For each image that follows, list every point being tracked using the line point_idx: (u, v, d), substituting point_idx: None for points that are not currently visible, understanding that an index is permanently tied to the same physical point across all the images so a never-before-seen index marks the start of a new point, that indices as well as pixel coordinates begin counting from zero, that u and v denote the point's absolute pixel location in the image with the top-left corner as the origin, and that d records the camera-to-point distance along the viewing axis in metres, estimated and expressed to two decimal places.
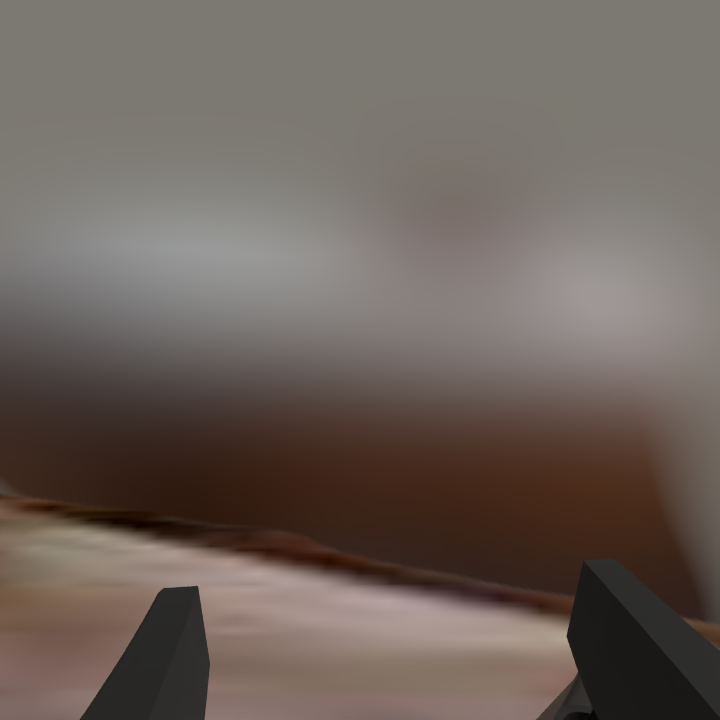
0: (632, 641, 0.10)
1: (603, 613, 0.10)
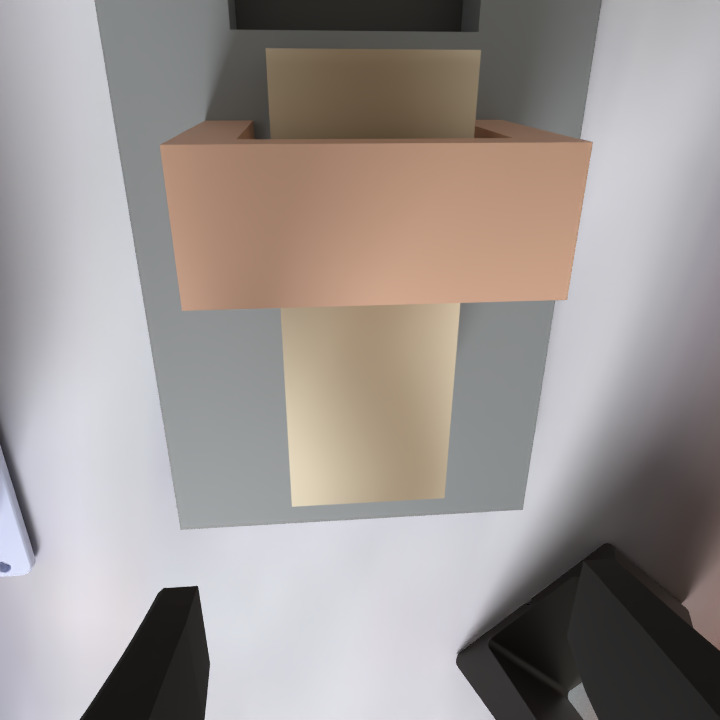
0: (632, 641, 0.10)
1: (603, 613, 0.10)
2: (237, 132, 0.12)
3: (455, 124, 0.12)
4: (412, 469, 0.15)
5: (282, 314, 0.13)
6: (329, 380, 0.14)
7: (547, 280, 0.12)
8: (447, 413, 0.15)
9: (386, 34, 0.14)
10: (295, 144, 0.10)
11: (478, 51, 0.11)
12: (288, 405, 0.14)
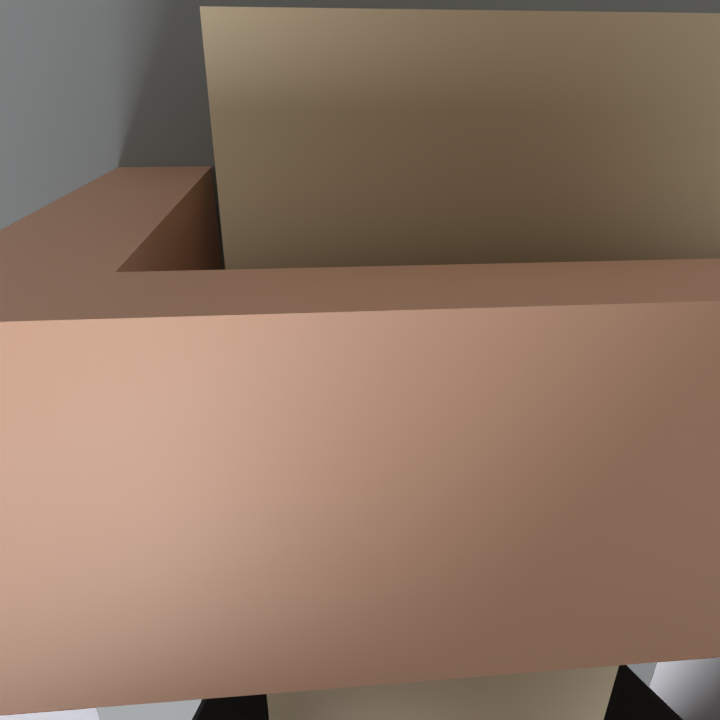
0: None
1: None
2: (149, 221, 0.05)
3: (700, 210, 0.05)
4: None
5: None
6: (360, 709, 0.07)
7: None
8: None
9: None
10: (286, 313, 0.03)
11: None
12: None
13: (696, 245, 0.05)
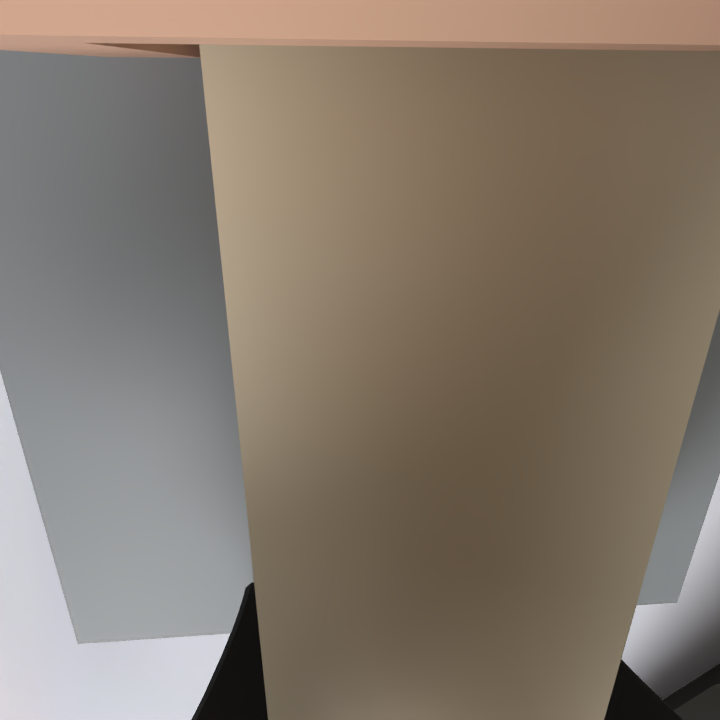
0: None
1: None
2: None
3: (712, 151, 0.04)
4: None
5: (256, 578, 0.06)
6: (360, 684, 0.07)
7: None
8: None
9: None
10: None
11: None
12: None
13: (708, 188, 0.04)
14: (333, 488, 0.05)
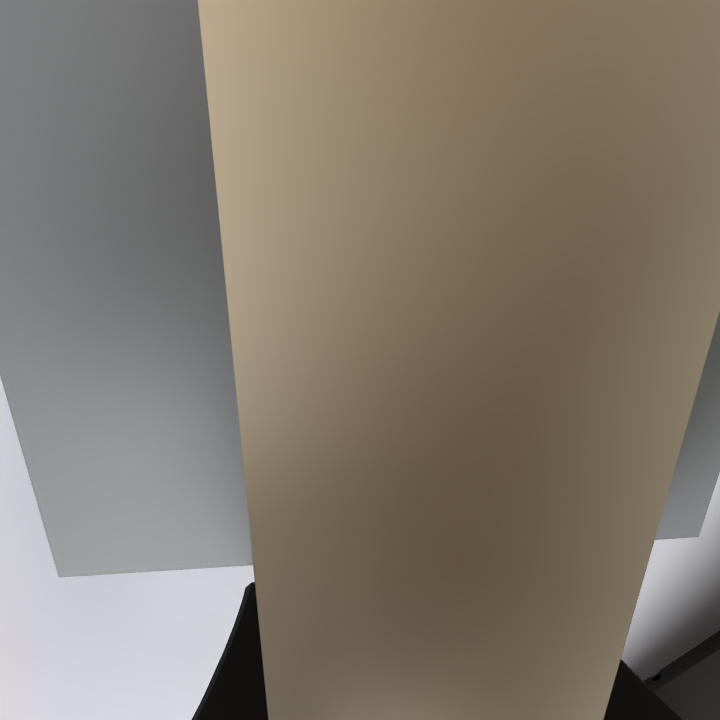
0: None
1: None
2: None
3: (718, 135, 0.04)
4: None
5: (257, 570, 0.06)
6: (360, 677, 0.07)
7: None
8: (597, 716, 0.07)
9: None
10: None
11: None
12: None
13: (713, 174, 0.04)
14: (334, 478, 0.05)
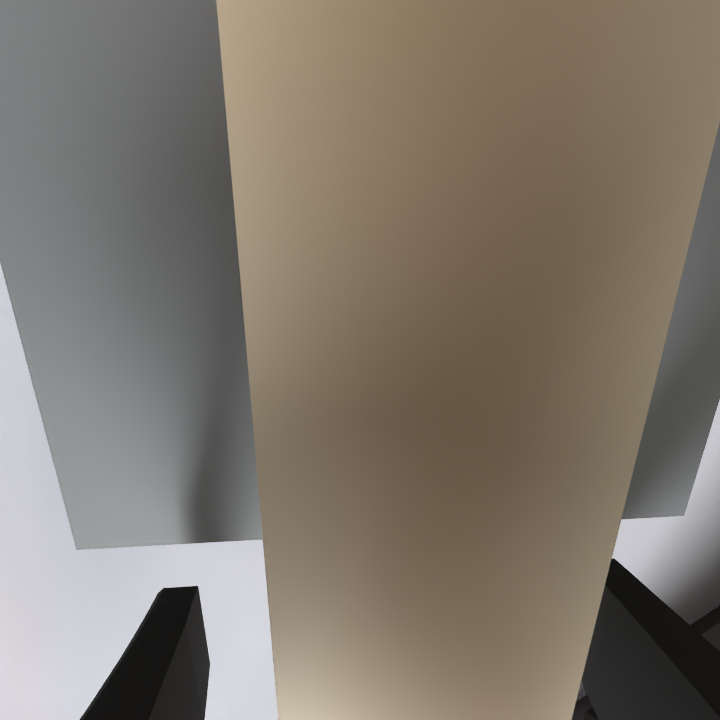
0: (632, 641, 0.10)
1: (603, 613, 0.10)
2: None
3: (673, 128, 0.05)
4: None
5: (264, 522, 0.06)
6: (358, 627, 0.07)
7: None
8: (577, 669, 0.08)
9: None
10: None
11: None
12: (278, 669, 0.07)
13: (669, 162, 0.05)
14: (334, 438, 0.06)
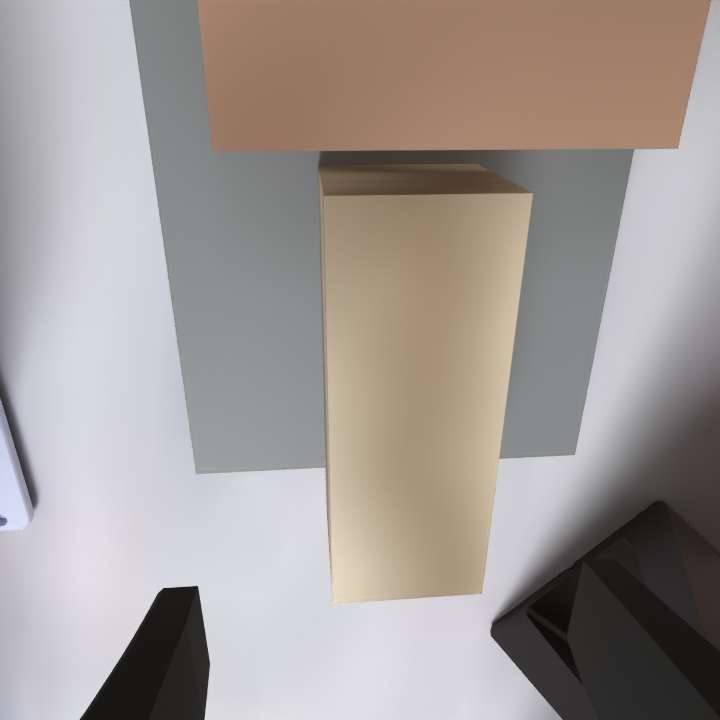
0: (632, 641, 0.10)
1: (603, 613, 0.10)
2: None
3: (505, 260, 0.12)
4: (451, 568, 0.16)
5: (330, 432, 0.13)
6: (373, 490, 0.14)
7: (656, 120, 0.10)
8: (487, 517, 0.15)
9: None
10: None
11: (530, 194, 0.11)
12: (332, 513, 0.14)
13: (505, 272, 0.12)
14: (364, 391, 0.13)
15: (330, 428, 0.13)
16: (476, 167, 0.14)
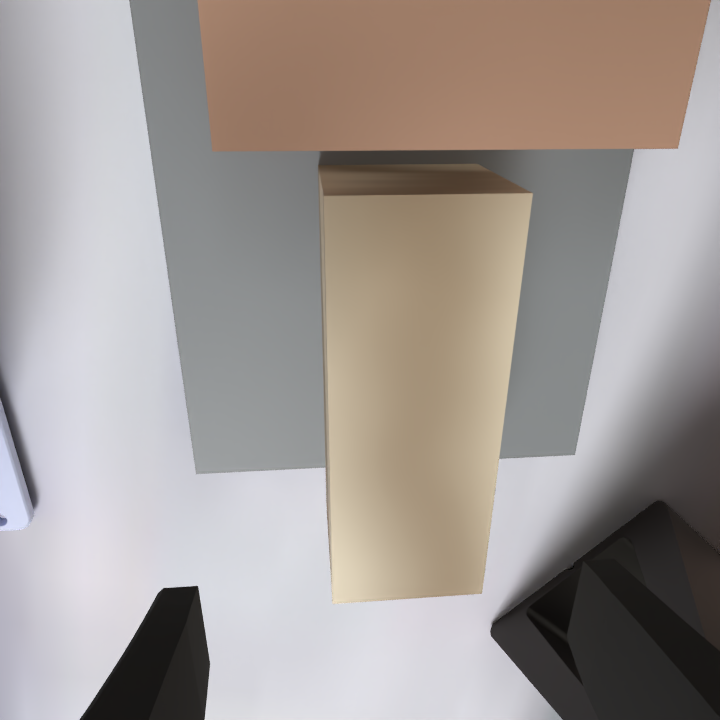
0: (632, 641, 0.10)
1: (603, 613, 0.10)
2: None
3: (505, 260, 0.12)
4: (451, 568, 0.16)
5: (330, 432, 0.13)
6: (373, 490, 0.14)
7: (656, 120, 0.10)
8: (487, 517, 0.15)
9: None
10: None
11: (530, 194, 0.11)
12: (332, 513, 0.14)
13: (505, 272, 0.12)
14: (364, 391, 0.13)
15: (330, 428, 0.13)
16: (476, 167, 0.14)
